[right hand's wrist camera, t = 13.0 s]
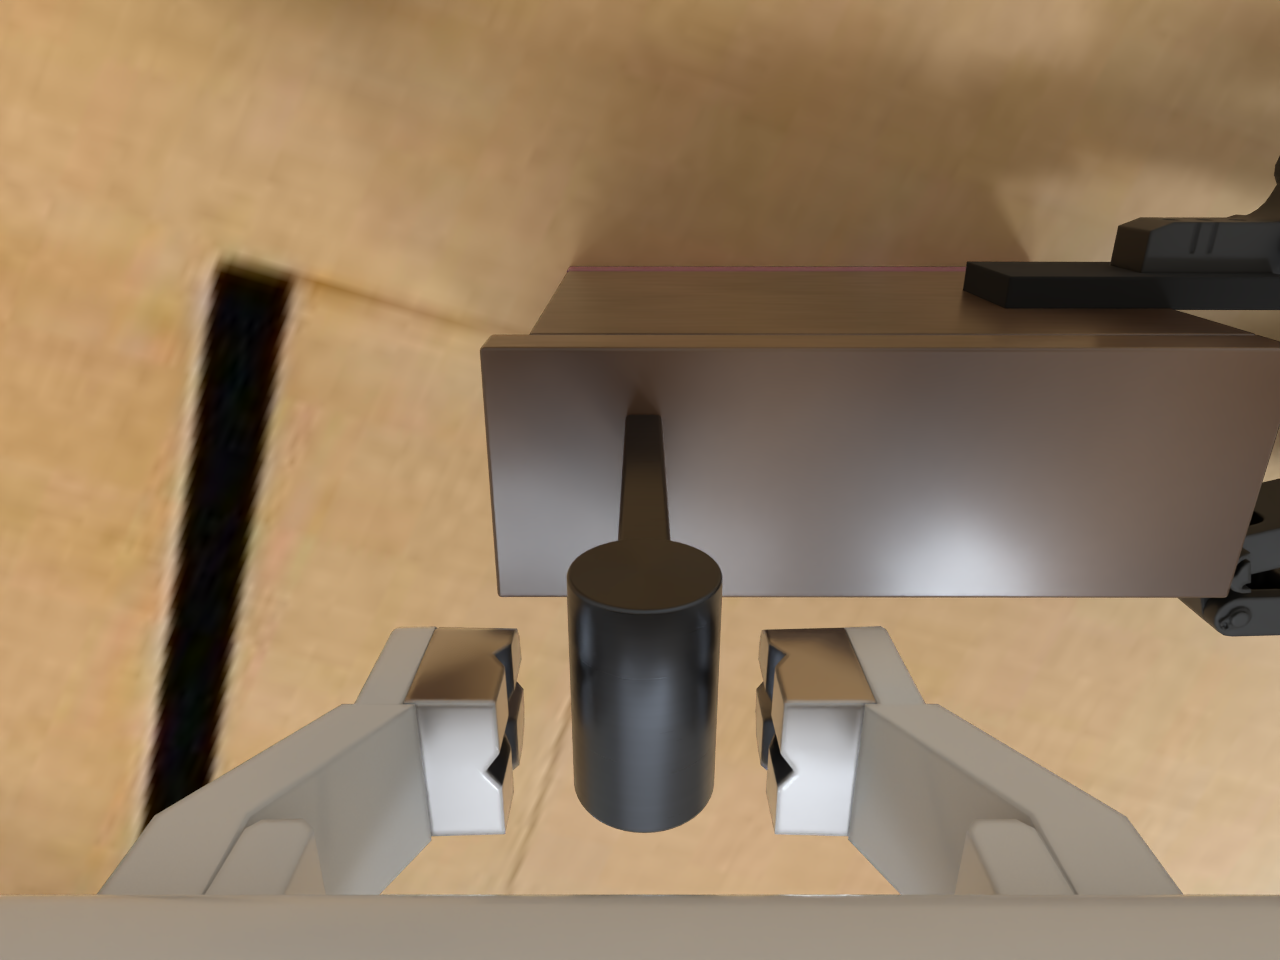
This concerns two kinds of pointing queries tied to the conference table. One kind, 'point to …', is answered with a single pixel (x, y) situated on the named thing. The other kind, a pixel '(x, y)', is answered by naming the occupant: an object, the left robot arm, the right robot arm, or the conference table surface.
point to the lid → (843, 497)
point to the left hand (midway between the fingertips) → (968, 402)
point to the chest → (821, 305)
